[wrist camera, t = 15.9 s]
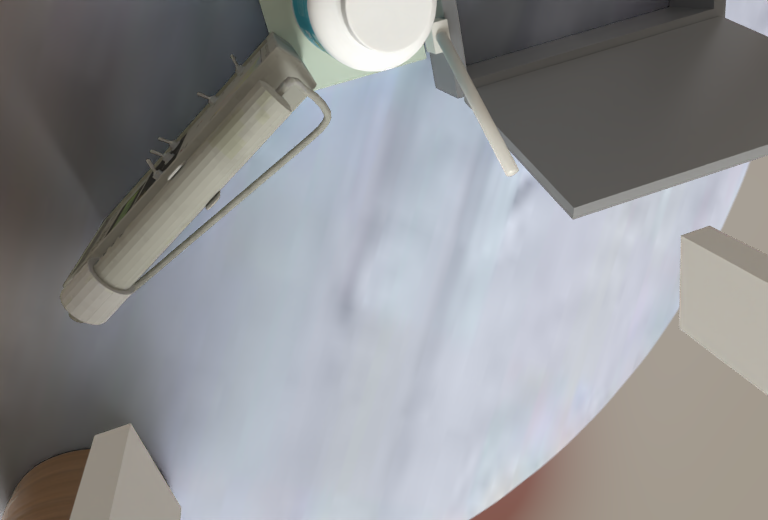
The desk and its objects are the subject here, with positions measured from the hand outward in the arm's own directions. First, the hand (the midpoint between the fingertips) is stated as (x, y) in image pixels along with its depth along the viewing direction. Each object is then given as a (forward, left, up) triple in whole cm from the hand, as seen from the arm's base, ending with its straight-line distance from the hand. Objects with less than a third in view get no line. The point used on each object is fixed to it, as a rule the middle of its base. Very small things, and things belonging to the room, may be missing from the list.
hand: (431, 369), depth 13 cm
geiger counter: (+3, -9, -35) cm, 36 cm away
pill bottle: (-6, +6, -34) cm, 35 cm away
